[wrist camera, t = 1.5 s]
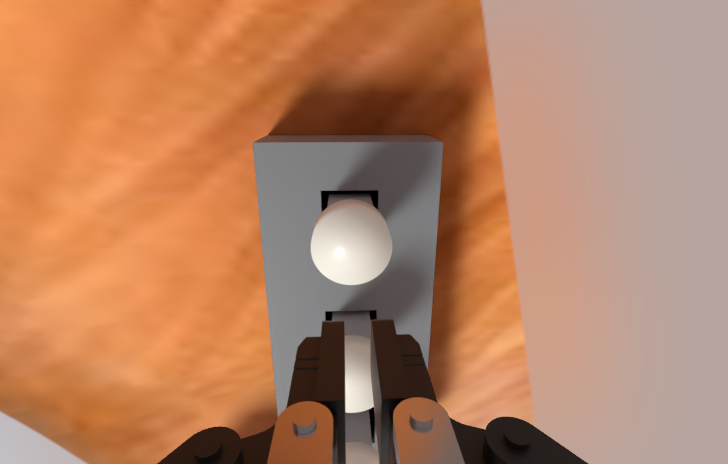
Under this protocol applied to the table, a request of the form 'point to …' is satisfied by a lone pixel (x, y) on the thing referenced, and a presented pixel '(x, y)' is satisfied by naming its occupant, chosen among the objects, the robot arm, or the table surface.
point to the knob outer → (359, 439)
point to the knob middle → (357, 359)
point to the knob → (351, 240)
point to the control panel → (297, 220)
